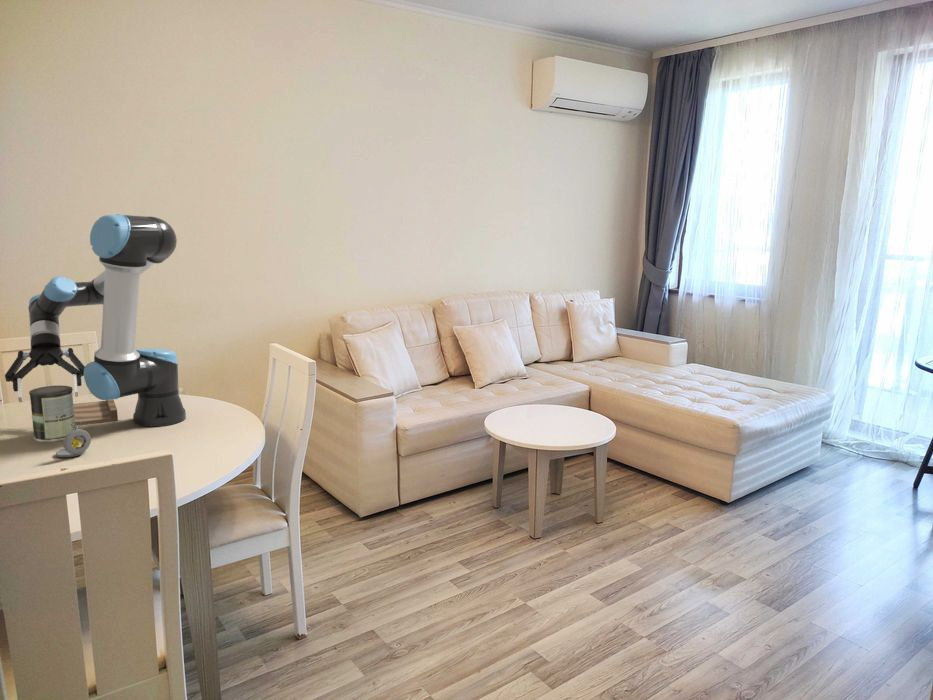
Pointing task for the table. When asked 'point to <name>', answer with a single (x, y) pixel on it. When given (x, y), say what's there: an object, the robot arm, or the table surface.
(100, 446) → the table surface
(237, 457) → the table surface
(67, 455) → the pocket watch
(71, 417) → the coffee can
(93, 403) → the cradle
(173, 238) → the robot arm
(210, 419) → the table surface
